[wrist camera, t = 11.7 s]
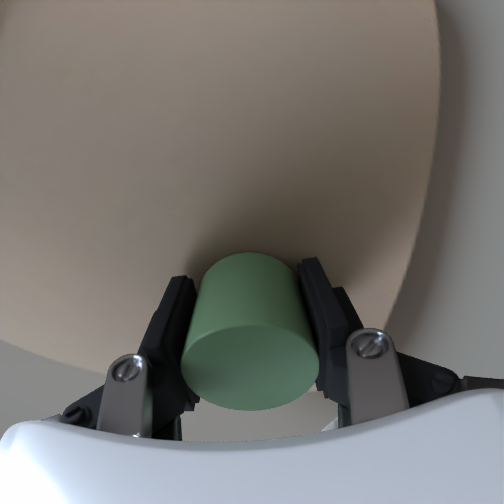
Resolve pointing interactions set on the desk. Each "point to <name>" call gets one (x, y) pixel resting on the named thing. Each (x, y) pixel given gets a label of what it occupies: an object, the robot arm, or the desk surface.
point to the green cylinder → (249, 336)
